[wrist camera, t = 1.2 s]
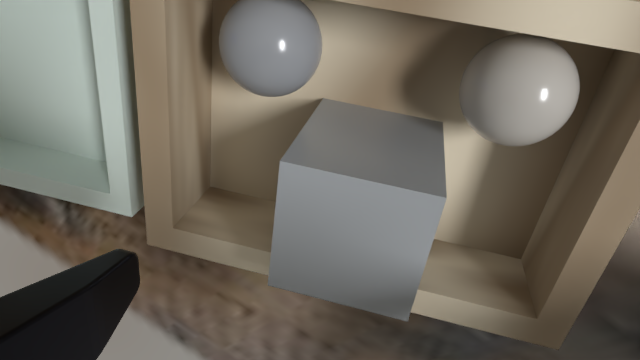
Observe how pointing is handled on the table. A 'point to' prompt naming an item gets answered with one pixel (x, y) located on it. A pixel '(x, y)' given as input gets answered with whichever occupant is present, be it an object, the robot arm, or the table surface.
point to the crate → (415, 100)
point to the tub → (70, 102)
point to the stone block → (358, 207)
